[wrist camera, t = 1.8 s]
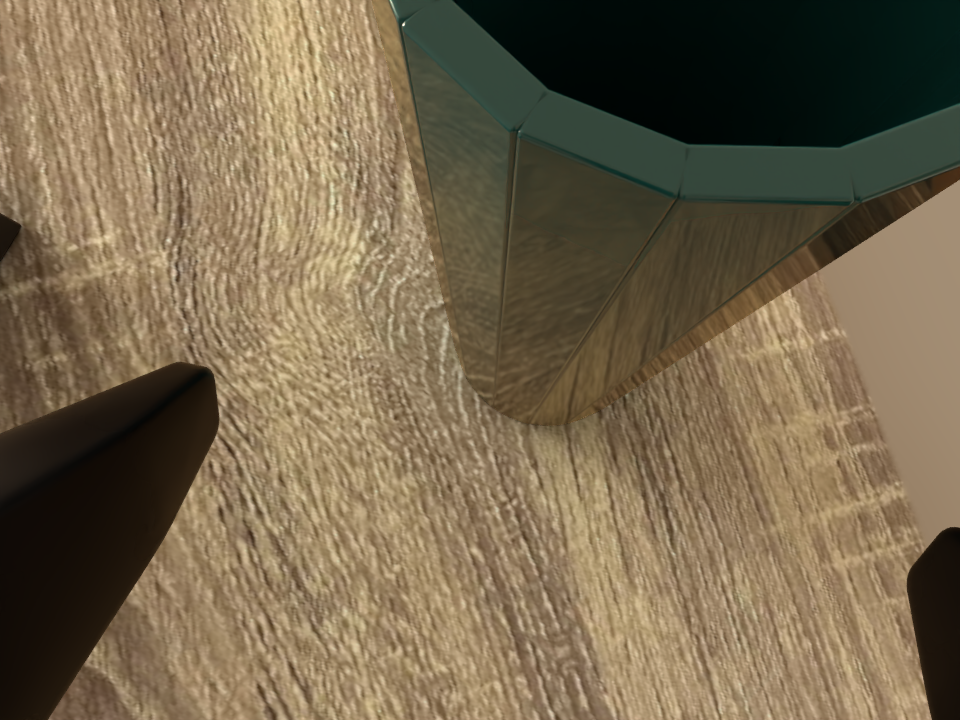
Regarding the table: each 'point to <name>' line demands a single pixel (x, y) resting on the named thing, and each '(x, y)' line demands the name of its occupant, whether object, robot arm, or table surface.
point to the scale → (7, 233)
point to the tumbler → (654, 168)
